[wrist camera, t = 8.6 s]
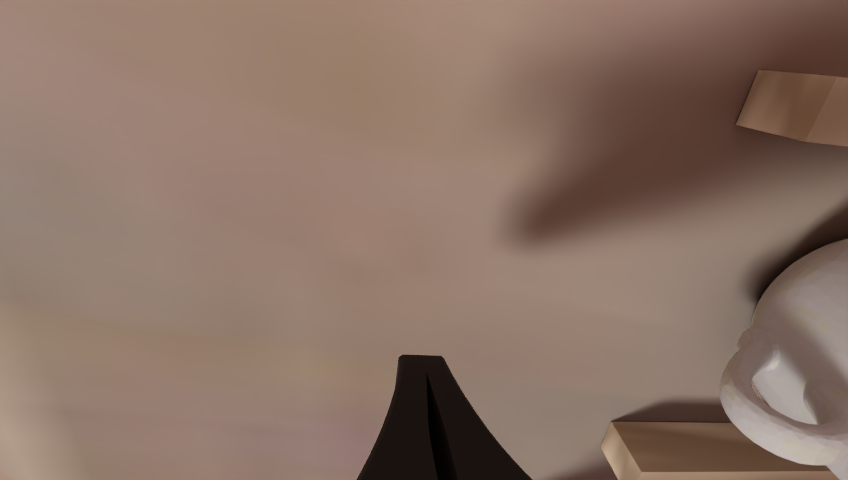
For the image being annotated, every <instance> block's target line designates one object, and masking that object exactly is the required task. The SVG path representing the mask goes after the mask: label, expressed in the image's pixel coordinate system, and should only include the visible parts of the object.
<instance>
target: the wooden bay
mask: <svg viewBox="0 0 848 480" xmlns="http://www.w3.org/2000/svg"><path fill="white" fill-rule="evenodd" d="M736 125H739V126H743V127H747V128H751V129H755V130H759V131H763V132H767V133H771V134H775V135H779V136H783V137H787V138H792V139H796V140H800V141H804V142H811V143H820V144H829V145H838V146H847V147H848V78H846V77H838V76H827V75H815V74H804V73H792V72H780V71H769V70H758V73H757V75H756V77H755V80H754V82H753V85H752V87H751V89H750V92H749V94H748V96H747V99H746V101H745V104H744V106H743V108H742V111H741V113H740V116H739V118H738V120H737V123H736ZM601 449H602V450H603V452H604V454H605V456H606V458H607V460H608V462H609V464H610V465H611V467H612V469H613V471H614V473H615V475H616V477H617V479H618V480H840V479H839V478H838V477H837V476H836V475H835V474H834V473H833V472H832V471H831V470H830V469H829V468H828V467H827V466H826V465H807V464H799V463H796V462H793V461H790V460H787V459H785V458H782V457H779V456H777V455H775V454H773V453H771V452H769V451H767V450H766V449H764V448H762V447H761V446H759V445H757V444H756V443H754V442H753V441H752V440H750V439H749V438H748V437H747V436H746V435H744V434H743V433H742V432H741V431H740V430H739V429H738V428H737V427H736V426H735V425H734V424H733V423H691V422H611V424H610V426H609V428H608V431H607V433H606V435H605V438H604V440H603V443H602V445H601Z"/></svg>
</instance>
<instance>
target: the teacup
mask: <svg viewBox="0 0 848 480" xmlns="http://www.w3.org/2000/svg"><path fill="white" fill-rule="evenodd" d="M738 348H739V351H738V352H737V353H736V354H735V355H734V356H733V357H732V359H731V360H730V361H729V363H728V364H727V366H726V368H725V370H724V372H723V375H722V378H721V382H720V399H721V403H722V406H723V408H724V410H725V413H726V414H727V416H728V417H729V419H730V420H731V421H732V423H733V424H734V425H735V426H736V427H737V428H738V429H739V430H740V431H741V432H742V433H743V434H744V435H746V436H747V437H748V438H749V439H750V440H752V441H753V442H754V443H756V444H757V445H759V446H761V447H762V448H764V449H766V450H767V451H769V452H771V453H773V454H775V455H777V456H779V457H782V458H785V459H787V460H790V461H793V462H796V463H799V464H807V465H826V466H827V467H828V468H829V469H830V470H831V471H832V472H833V473H834V474H835V475H836V476H837V477H838V478H839V479H840V480H848V239H844V240H840V241H837V242H834V243H831V244H828V245H826V246H823V247H821V248H819V249H817V250H814V251H812V252H811V253H809V254H807V255H805V256H803V257H802V258H800V259H799V260H797V261H796V262H794V263H793V264H791V265H790V266H789V267H788V268H786V269H785V270H784V271H783V272H782V273H781V274H780V275H779V276H778V277H777V278H776V279H775V280H774V281H773V282H772V283H771V284H770V286H769V287H768V288H767V289H766V291H765V292H764V293H763V295H762V297H761V299H760V300H759V302H758V304H757V306H756V309H755V311H754V314H753V318H752V322H751V328H750V329H747V330H746V331H745V332H744V333H743V334H742V336H741V337H740V339H739V341H738ZM751 380H753V382H754V383H755V385H756V387H757V389H758V391H759V392H760V393H761V395H762V396H763V397H764V399H765V400H766V402H767V403H768V404H769V405H770V406H768V405H767V404H766V403H765V402H763V401H762V400H761V399H760V398H758V397H757V395H756V394H755V392H754V391H753V389H752V385H751Z"/></svg>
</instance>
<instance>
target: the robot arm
mask: <svg viewBox="0 0 848 480" xmlns="http://www.w3.org/2000/svg"><path fill="white" fill-rule="evenodd" d="M357 480H532V479H531V478H530V477H529V476H528V475H527V474H526V473H525V472H524V471H523V470H522V469H521V468H520V467H519V465H518V464H517V463H516V462H515V461H514V460H513V459H512V458H511V457H510V456H509V454H508V453H507V452H506V451H505V450H504V449H503V448H502V446H501V445H500V444H499V443H498V441H497V440H496V439H495V438H494V436H493V435H492V434H491V433H490V431H489V430H488V429H487V427H486V426H485V425H484V423H483V422H482V421H481V419H480V418H479V416H478V415H477V413H476V412H475V410H474V409H473V407H472V406H471V404H470V403H469V401H468V400H467V398H466V397H465V395H464V394H463V392H462V390H461V389H460V387H459V385H458V384H457V382H456V380H455V378H454V377H453V375H452V373H451V371H450V369H449V367H448V366H447V364H446V362H445V360H444V358H443V357H442V356H427V355H402V356H400V357H399V359H398V368H397V377H396V385H395V391H394V394H393V398H392V401H391V404H390V407H389V410H388V413H387V416H386V418H385V421H384V424H383V426H382V429H381V431H380V434H379V436H378V438H377V440H376V443H375V445H374V447H373V449H372V451H371V453H370V455H369V457H368V459H367V461H366V463H365V465H364V467H363V469H362V471H361V473H360V475H359V476H358V478H357Z"/></svg>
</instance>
